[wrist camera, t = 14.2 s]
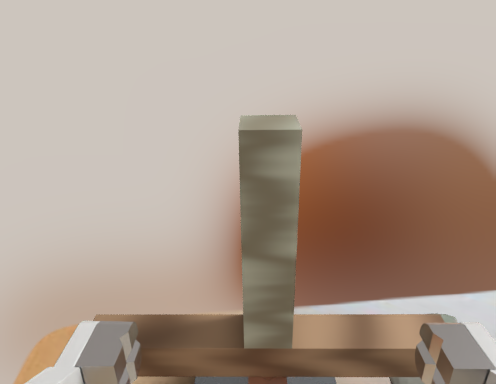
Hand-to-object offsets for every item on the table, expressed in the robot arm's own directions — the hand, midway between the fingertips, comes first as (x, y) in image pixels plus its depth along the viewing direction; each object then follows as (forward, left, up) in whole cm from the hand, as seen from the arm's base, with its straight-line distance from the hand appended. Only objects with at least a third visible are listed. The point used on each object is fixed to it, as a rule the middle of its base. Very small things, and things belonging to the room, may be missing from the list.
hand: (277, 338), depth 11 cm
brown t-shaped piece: (-2, -11, -13) cm, 17 cm away
